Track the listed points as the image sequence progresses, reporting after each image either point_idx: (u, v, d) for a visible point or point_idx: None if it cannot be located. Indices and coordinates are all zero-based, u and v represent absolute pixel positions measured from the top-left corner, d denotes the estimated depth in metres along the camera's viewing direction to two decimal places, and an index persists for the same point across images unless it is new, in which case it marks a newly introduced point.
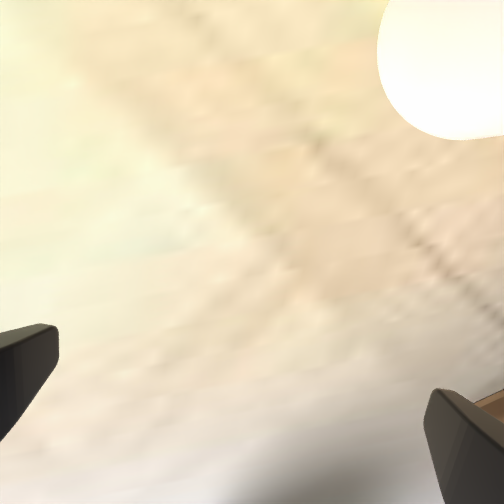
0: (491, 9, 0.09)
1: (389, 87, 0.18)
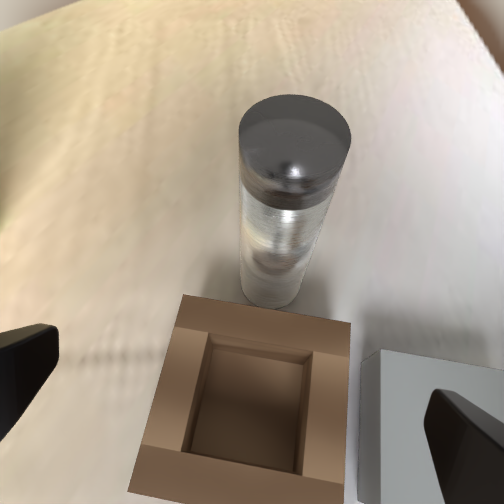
0: None
1: None
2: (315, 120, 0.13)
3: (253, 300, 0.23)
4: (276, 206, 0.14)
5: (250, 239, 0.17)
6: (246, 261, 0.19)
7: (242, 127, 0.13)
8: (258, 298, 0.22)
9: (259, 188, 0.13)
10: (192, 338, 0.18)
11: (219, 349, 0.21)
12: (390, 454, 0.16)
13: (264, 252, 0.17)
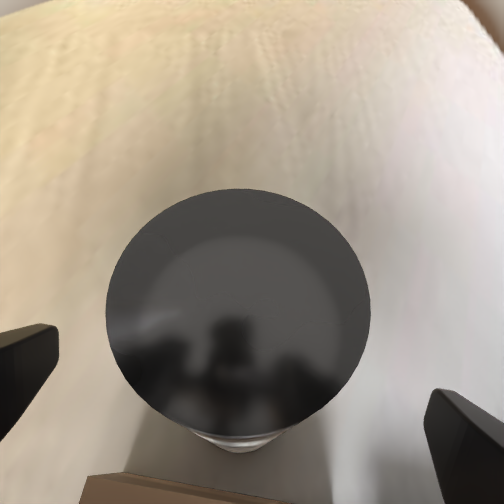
0: None
1: None
2: (288, 255, 0.06)
3: None
4: (207, 438, 0.06)
5: None
6: None
7: (118, 280, 0.06)
8: None
9: None
10: None
11: None
12: None
13: None
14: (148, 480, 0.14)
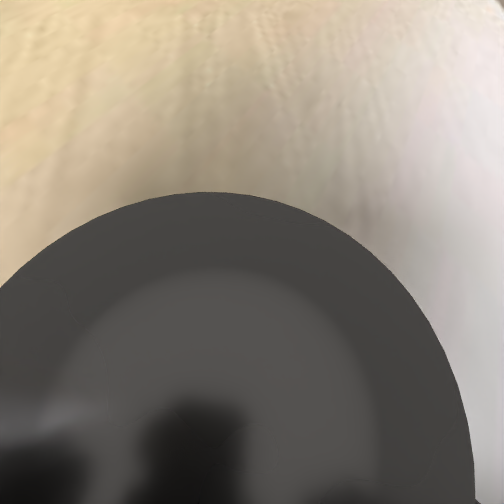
0: None
1: None
2: (297, 324, 0.03)
3: None
4: None
5: None
6: None
7: None
8: None
9: None
10: None
11: None
12: None
13: None
14: None
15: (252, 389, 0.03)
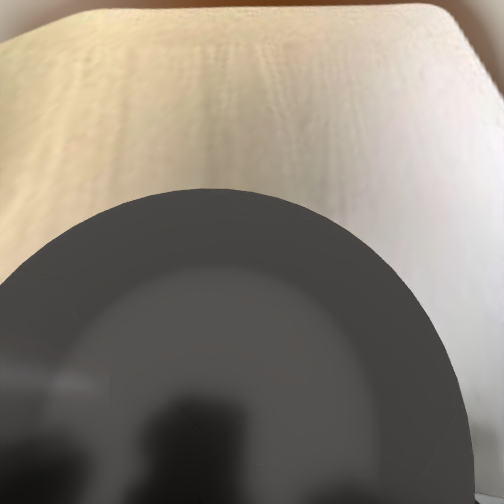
0: None
1: None
2: (298, 318, 0.03)
3: None
4: None
5: None
6: None
7: None
8: None
9: None
10: None
11: None
12: None
13: None
14: None
15: (253, 383, 0.03)
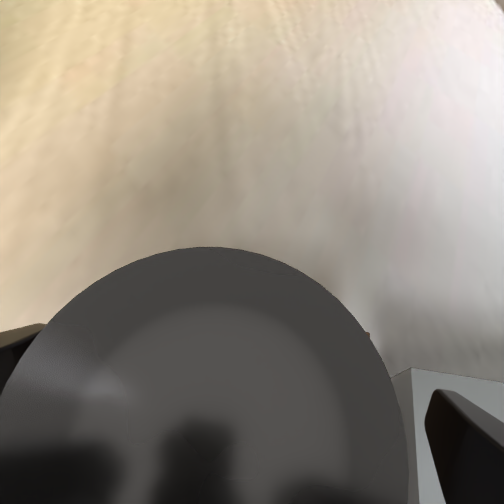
0: None
1: None
2: (276, 360, 0.04)
3: None
4: None
5: None
6: None
7: (7, 407, 0.04)
8: None
9: None
10: None
11: None
12: None
13: None
14: None
15: (239, 414, 0.04)
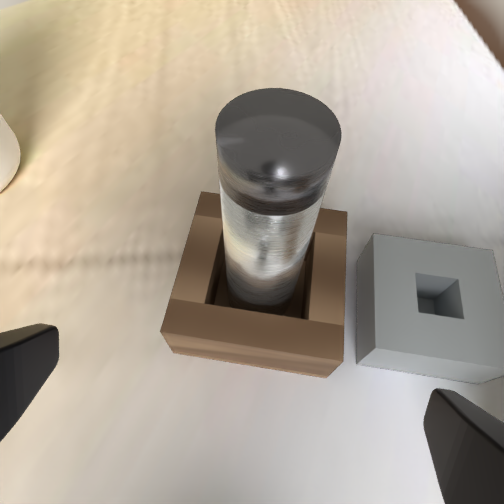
0: None
1: None
2: (301, 115, 0.12)
3: None
4: (259, 212, 0.12)
5: (234, 249, 0.15)
6: (231, 273, 0.18)
7: (219, 123, 0.11)
8: None
9: (239, 191, 0.12)
10: (210, 223, 0.21)
11: None
12: (383, 308, 0.19)
13: (249, 262, 0.15)
14: None
15: (290, 126, 0.11)
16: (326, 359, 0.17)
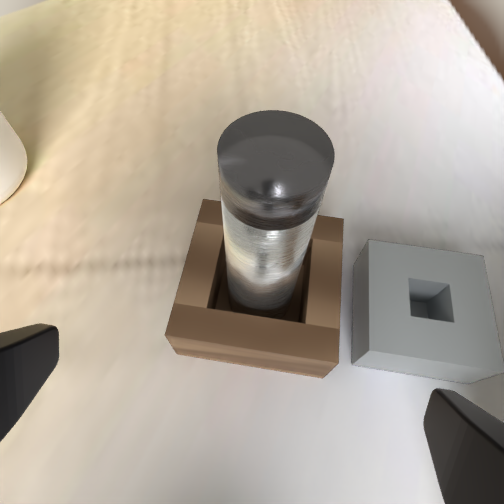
0: None
1: None
2: (297, 137, 0.13)
3: None
4: (258, 227, 0.13)
5: (234, 258, 0.16)
6: (232, 279, 0.19)
7: (221, 145, 0.12)
8: None
9: (240, 208, 0.13)
10: (212, 230, 0.22)
11: None
12: (377, 312, 0.20)
13: (249, 271, 0.16)
14: None
15: (287, 147, 0.12)
16: (322, 361, 0.18)
